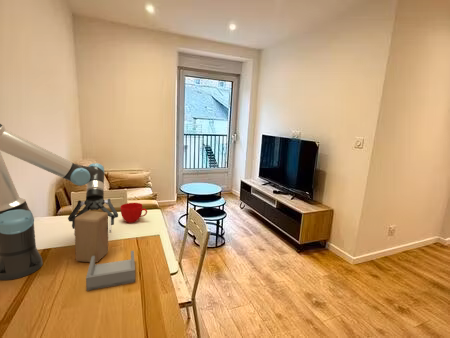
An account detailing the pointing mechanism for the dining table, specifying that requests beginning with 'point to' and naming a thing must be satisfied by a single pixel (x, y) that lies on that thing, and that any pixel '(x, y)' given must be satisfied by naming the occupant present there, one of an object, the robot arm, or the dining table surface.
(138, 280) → the dining table surface
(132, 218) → the ceramic cup
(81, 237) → the wooden block
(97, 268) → the end cap cradle
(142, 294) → the dining table surface
